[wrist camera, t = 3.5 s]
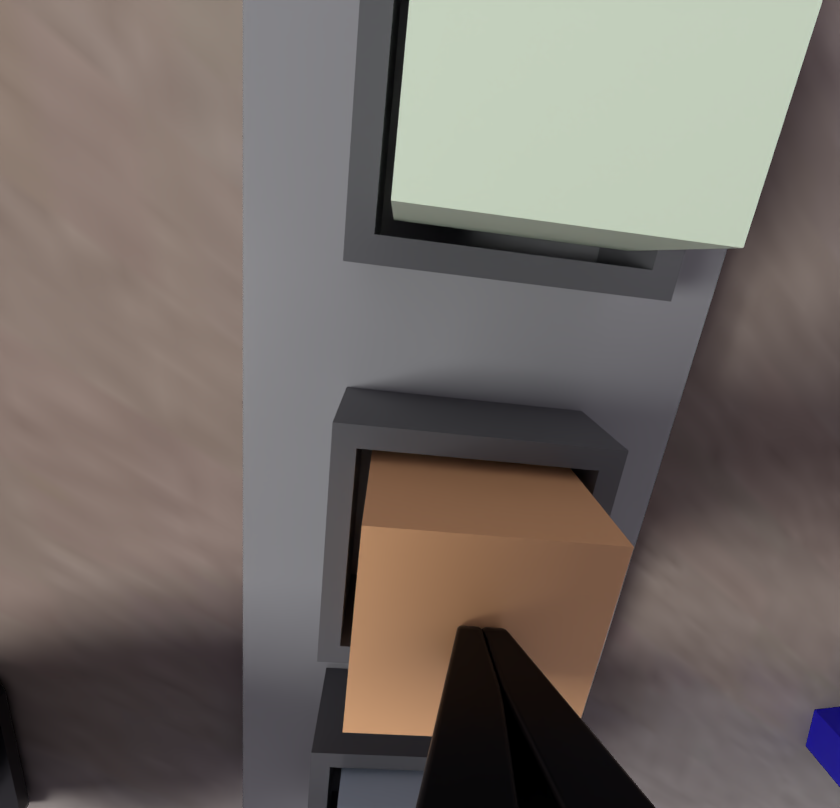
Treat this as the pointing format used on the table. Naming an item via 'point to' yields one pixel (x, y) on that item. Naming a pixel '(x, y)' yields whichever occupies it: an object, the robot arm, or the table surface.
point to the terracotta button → (475, 580)
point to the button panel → (404, 368)
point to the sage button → (595, 117)
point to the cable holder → (826, 740)
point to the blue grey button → (379, 788)
